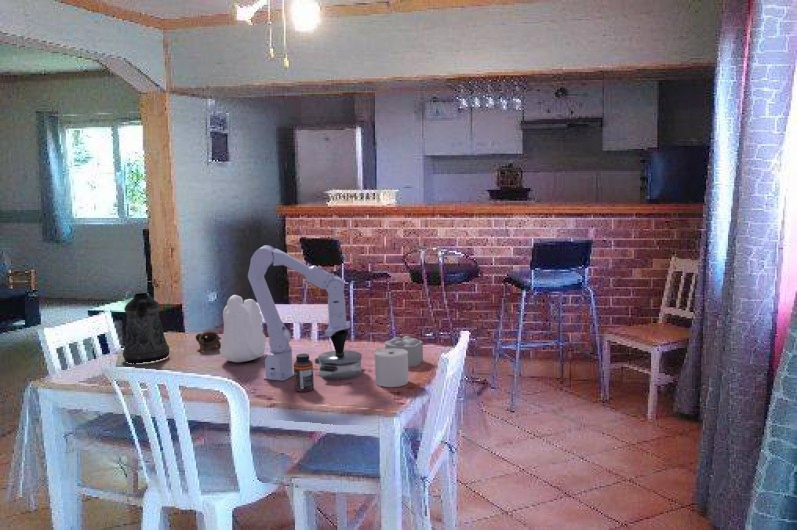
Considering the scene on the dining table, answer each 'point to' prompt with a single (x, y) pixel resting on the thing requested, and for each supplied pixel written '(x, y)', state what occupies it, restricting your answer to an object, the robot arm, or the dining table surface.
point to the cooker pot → (339, 370)
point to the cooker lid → (339, 357)
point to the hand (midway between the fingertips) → (339, 352)
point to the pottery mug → (208, 340)
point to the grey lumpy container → (408, 348)
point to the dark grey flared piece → (144, 331)
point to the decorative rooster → (242, 330)
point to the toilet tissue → (391, 367)
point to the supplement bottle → (303, 373)
